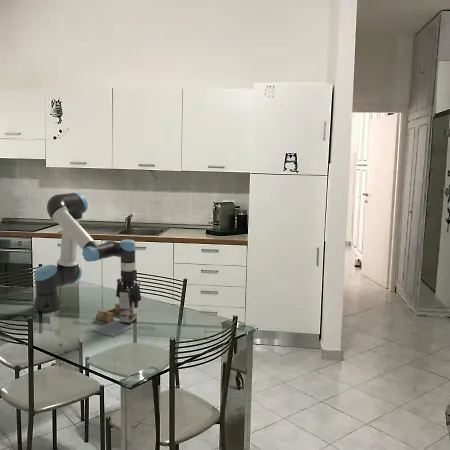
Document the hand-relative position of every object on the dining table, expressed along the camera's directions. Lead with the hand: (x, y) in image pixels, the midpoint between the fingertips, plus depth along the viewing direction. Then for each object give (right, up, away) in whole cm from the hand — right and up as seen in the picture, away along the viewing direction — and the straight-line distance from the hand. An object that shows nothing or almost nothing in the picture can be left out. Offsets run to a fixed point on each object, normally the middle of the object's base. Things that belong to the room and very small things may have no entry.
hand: (128, 311), depth 266 cm
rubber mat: (-6, -7, -11) cm, 14 cm away
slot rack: (-9, -4, +6) cm, 11 cm away
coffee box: (0, -4, +1) cm, 4 cm away
